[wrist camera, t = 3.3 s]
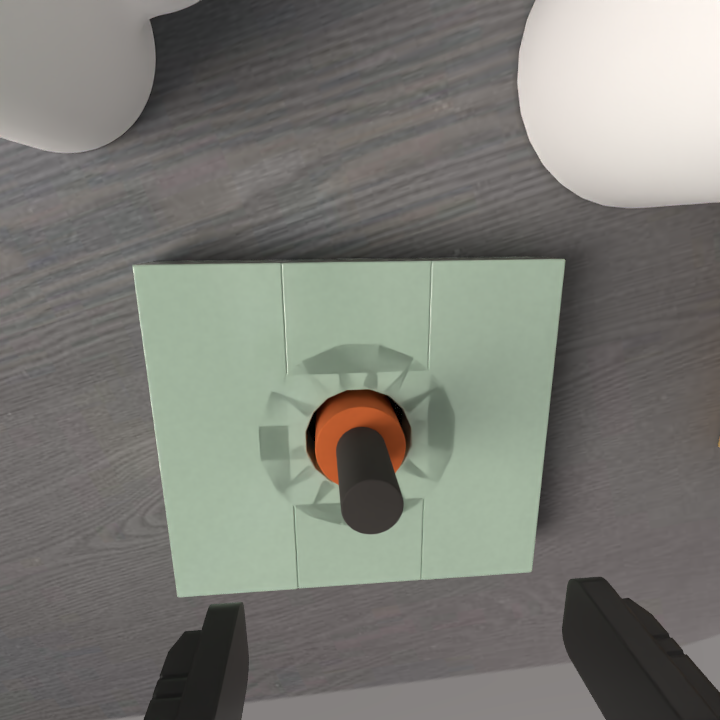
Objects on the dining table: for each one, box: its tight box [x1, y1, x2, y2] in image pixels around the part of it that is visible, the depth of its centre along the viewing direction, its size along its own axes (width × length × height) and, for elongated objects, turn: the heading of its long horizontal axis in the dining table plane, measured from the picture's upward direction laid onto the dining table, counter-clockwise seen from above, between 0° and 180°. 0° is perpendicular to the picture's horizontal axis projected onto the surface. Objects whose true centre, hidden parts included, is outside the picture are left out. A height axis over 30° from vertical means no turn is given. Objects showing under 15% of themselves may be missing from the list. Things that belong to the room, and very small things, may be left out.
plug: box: [315, 389, 406, 534], centre depth 20 cm, size 4×4×8 cm
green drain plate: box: [132, 256, 565, 597], centre depth 22 cm, size 18×16×2 cm
